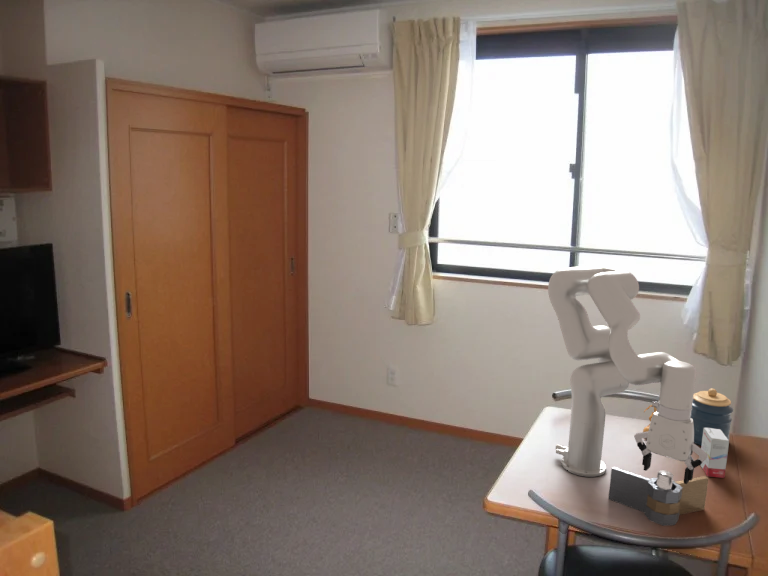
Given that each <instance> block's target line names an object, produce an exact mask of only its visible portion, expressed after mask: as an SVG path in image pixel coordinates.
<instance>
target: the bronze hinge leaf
mask: <svg viewBox="0 0 768 576" xmlns="http://www.w3.org/2000/svg"><path fill="white" fill-rule="evenodd" d="M674 481H675V480H674ZM675 482H676V483H678V484H679V485H680V486H681V487H682V496H681V499H680V501H679V502H678V503H667V504H665V503H663V502H660V501H657V500H654V499H652V498H651V497H650V495H649V494H648V497H647V506H648V507H649V508H651V509H652V510H653V511H655V512H658V513H662V514H667V515H671V514H676V513H679V516H680V515H686V514H690V513H695V512H699V511H704V510H705V507H706V498H707V493H708V492H707V491H708V487H709V485H708V484H709V477H708V476H707V475H703V476H699V477H698V476H697V477H693V478H692V480H689V482H688V483H687V484H685V483H684V479H682V480H677V481H675ZM679 509H680V512H679Z"/></svg>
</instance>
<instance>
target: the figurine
mask: <svg viewBox="0 0 768 576" xmlns="http://www.w3.org/2000/svg"><path fill="white" fill-rule="evenodd" d="M651 407H652V408H653V411H651V414H650V415H649V417H648V420H649V422H650V423H651V419H652V416H653V413H654V412H656V411H657V409H656V408H655V407H653V406H652V404H650V405H649V406H648V407H647V408H646V409H644V411H643V413H645V412H646V411H647V410H649V409H650V408H651ZM650 423H649V424H648V425H647V426H645V427H644V428H643V429H642V432H647V431H649V427H650Z"/></svg>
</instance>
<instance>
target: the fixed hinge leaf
mask: <svg viewBox="0 0 768 576" xmlns="http://www.w3.org/2000/svg"><path fill="white" fill-rule="evenodd" d="M609 481H610V482H609V492H608V500H610V501H613V502H615V503H618V504H621V505H624V506H627V507H629V508H632V509H634V510H638V511H641V512H643V513H644V516H645V517H647V519H648V520H649V521H650V522H652V523H654V524H658V525H660V526H664V527H665V526H675V525H676V524H677V522H679V517H680V515H679V513H676V514H671V515H667V514H662V513H658V512H655V511H653V510H652V509H651V508H649V507H648V506H647V497H648V494H649V495H650V497H651V498H652V499H654V500H657V501H660V502H663V503H665V504H667V503H678V502H679V501H680V499H681V496H682V487H681V486H680V485H679V484H678V483H676V482H675V480H673V483H672V490H664V489H662V488H659V487H657V486H656V483H657V477H652V478H650V477H649V478H648V477H645V476H643V475H640V474H637V473H635V472H631V471H628V470H624V469H621V468H619V467H616V466H612V467H611V470H610V480H609ZM679 512H680V509H679Z"/></svg>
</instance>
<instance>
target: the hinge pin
mask: <svg viewBox="0 0 768 576" xmlns="http://www.w3.org/2000/svg"><path fill="white" fill-rule="evenodd" d="M656 478H657V483H656V486H657V487H659V488H662V489H664V490H672V483H673V481H674V474H673V473H672V472H670V471H668V470H664V469H663V470H658V471H657V475H656Z"/></svg>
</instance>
